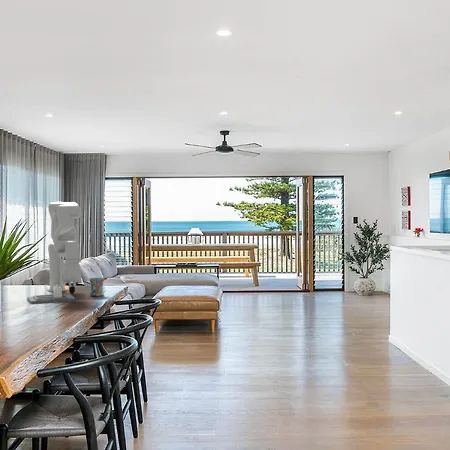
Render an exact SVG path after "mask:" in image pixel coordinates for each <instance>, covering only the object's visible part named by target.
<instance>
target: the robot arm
mask: <svg viewBox="0 0 450 450" xmlns="http://www.w3.org/2000/svg"><path fill="white" fill-rule="evenodd" d="M47 208H48V213H49V217H50V221H51V222H50V223H51V225H50V227H51V228H50V236H51V239H52V242H51V243H50V244H48V246H47V251H48V258H49V287H48V288H47V289H46V290H47V291H48V292H53V286H56V284H58V285H61V286H62V292H64V291H68V292H69V293H70V295H73V294H75V292H76V287H77V285H78V284H81V283H82V271H81V270H82V269H81V265H80V263H81V262H82V259H79V257H80V256H79V249H80V244H79V242H78V241H77V229H76V227H75V226H74V223H73V221H74V220H73V219H79V218H81V216H82V211H81V210H82V209H81V207H80V205H79V204H78V203H76V202H74V201H72V202H70V201H69V202H66V201H65V202H63V201H55V202H50V203H49V204H48V207H47ZM62 257H64V260H63V259H62ZM66 286H68V287H66Z"/></svg>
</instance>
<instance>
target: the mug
mask: <svg viewBox="0 0 450 450" xmlns="http://www.w3.org/2000/svg"><path fill="white" fill-rule="evenodd" d="M88 281H89V283H90V292H89V296H91V297H102V296H104V295H105V294H104V289H103V284H104V281H105V278H104V277H90V278H88Z"/></svg>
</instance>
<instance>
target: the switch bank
mask: <svg viewBox="0 0 450 450" xmlns="http://www.w3.org/2000/svg"><path fill="white" fill-rule="evenodd" d="M26 300H27V301H28V303H29V304H30V305H36V304H37V305H38V304H49V303H50V304H51V303H52V304H54V303H64V302H65V303H66V302H76V297H75V296H73V295H72V294H69V293H67V294H66V293H62V297H57V298H54V294H38V295H33V296H27V298H26Z"/></svg>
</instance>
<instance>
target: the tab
mask: <svg viewBox="0 0 450 450" xmlns="http://www.w3.org/2000/svg"><path fill="white" fill-rule="evenodd" d="M52 292H53V294H54V298H57V297H62V294H63V291H62V288H61V287H59V286H56V287H54V288H53V291H52Z"/></svg>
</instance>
